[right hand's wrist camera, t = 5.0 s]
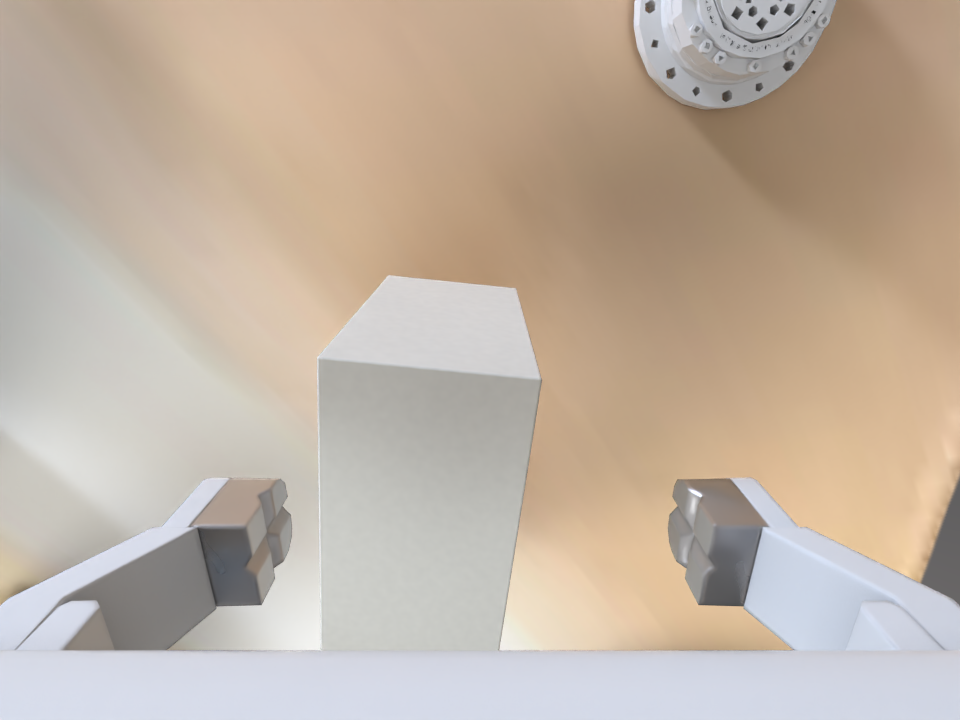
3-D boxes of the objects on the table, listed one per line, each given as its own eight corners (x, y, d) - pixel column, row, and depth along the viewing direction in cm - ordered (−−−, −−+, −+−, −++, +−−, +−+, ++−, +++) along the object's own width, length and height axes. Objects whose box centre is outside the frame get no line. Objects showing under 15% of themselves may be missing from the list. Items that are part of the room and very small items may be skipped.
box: (387, 274, 25) (316, 357, 14) (516, 288, 25) (542, 378, 15) (374, 636, 34) (322, 859, 23) (470, 643, 34) (464, 868, 23)
